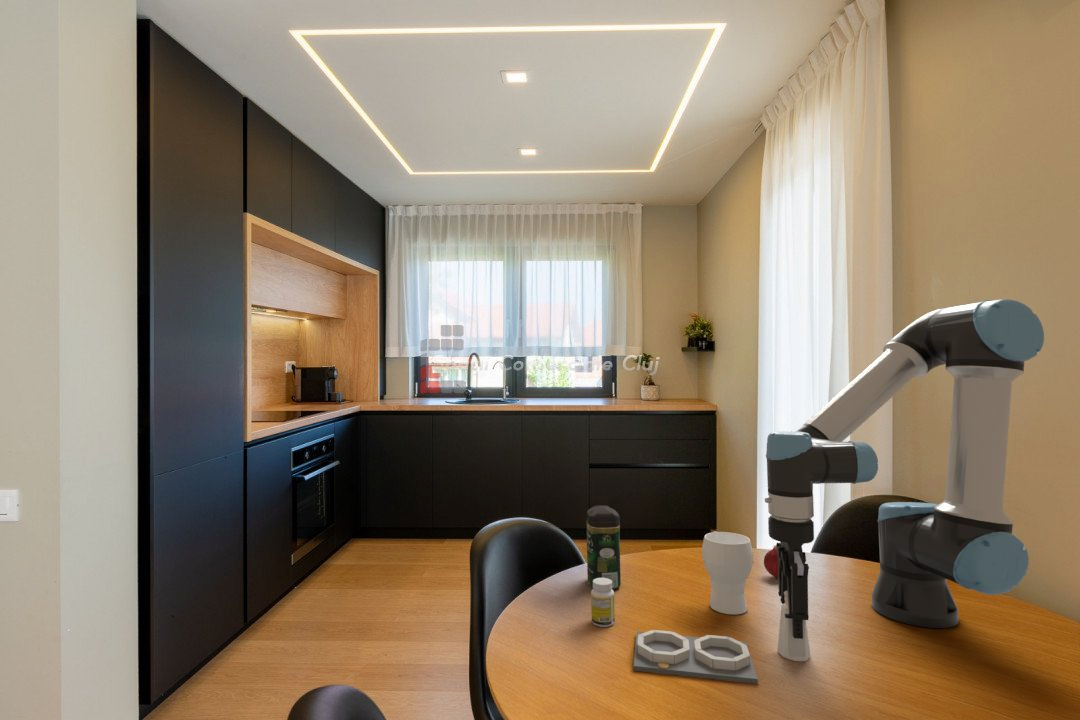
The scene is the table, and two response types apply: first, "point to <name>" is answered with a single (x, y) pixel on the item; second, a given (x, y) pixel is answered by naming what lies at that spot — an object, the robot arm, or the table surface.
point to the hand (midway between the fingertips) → (793, 648)
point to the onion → (772, 562)
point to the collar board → (694, 656)
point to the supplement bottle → (602, 603)
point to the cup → (727, 570)
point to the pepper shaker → (784, 635)
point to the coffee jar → (603, 545)
